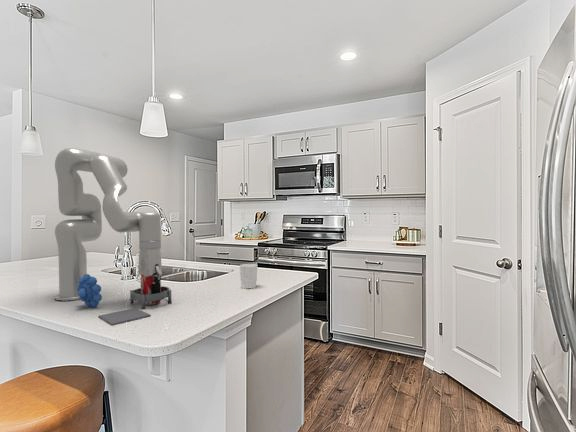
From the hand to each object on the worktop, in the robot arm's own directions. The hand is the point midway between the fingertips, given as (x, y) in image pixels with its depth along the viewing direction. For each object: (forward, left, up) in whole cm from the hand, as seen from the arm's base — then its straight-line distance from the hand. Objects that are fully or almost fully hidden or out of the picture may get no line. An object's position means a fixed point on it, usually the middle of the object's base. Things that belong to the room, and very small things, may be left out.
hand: (150, 292), depth 125 cm
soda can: (0, 0, -5) cm, 5 cm away
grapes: (-12, -18, -5) cm, 22 cm away
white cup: (+7, +42, -5) cm, 43 cm away
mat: (+9, -13, -4) cm, 16 cm away
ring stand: (0, 0, -4) cm, 4 cm away
